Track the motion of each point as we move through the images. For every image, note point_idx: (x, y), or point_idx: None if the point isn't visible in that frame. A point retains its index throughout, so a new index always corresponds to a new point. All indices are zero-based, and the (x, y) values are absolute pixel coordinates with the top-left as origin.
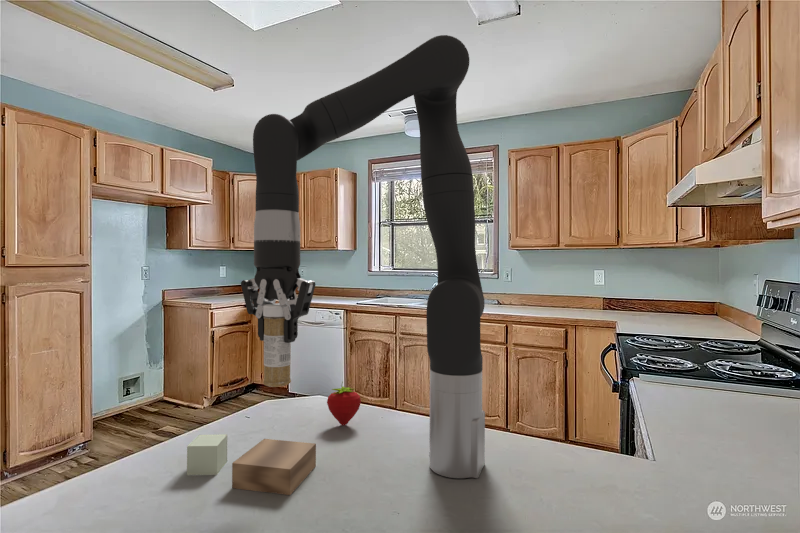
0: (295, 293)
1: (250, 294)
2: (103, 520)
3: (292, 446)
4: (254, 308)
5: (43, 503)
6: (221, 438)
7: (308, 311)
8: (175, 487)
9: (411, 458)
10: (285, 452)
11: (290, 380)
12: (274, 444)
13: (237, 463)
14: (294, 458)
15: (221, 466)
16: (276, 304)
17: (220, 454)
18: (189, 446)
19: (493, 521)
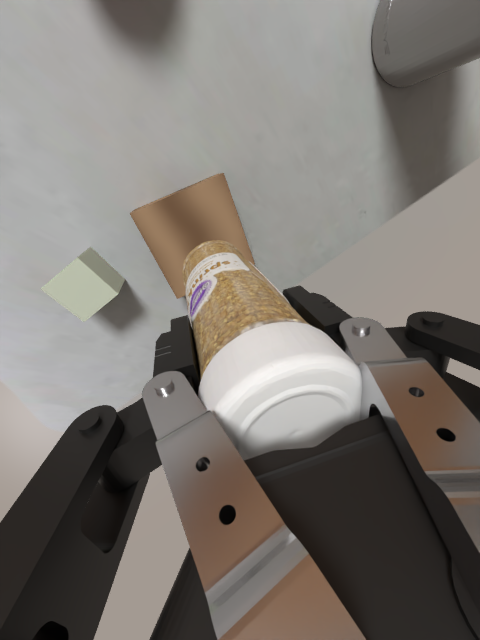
0: (469, 416)
1: (95, 614)
2: (137, 385)
3: (199, 207)
4: (140, 475)
5: (53, 412)
6: (89, 273)
7: (451, 317)
8: (120, 325)
9: (336, 38)
10: (209, 232)
11: (242, 255)
12: (168, 220)
13: (184, 295)
14: (235, 238)
15: (110, 267)
16: (287, 435)
17: (110, 276)
18: (86, 319)
19: (452, 167)
